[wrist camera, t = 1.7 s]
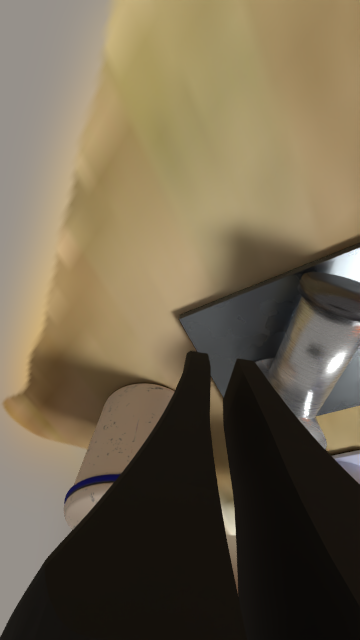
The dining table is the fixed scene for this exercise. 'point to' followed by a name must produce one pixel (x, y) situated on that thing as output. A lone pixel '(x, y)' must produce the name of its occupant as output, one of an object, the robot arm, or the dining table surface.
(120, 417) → the teacup with lid
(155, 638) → the robot arm
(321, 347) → the silver pipe
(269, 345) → the metal pipe fittings plate
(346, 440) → the dining table surface
